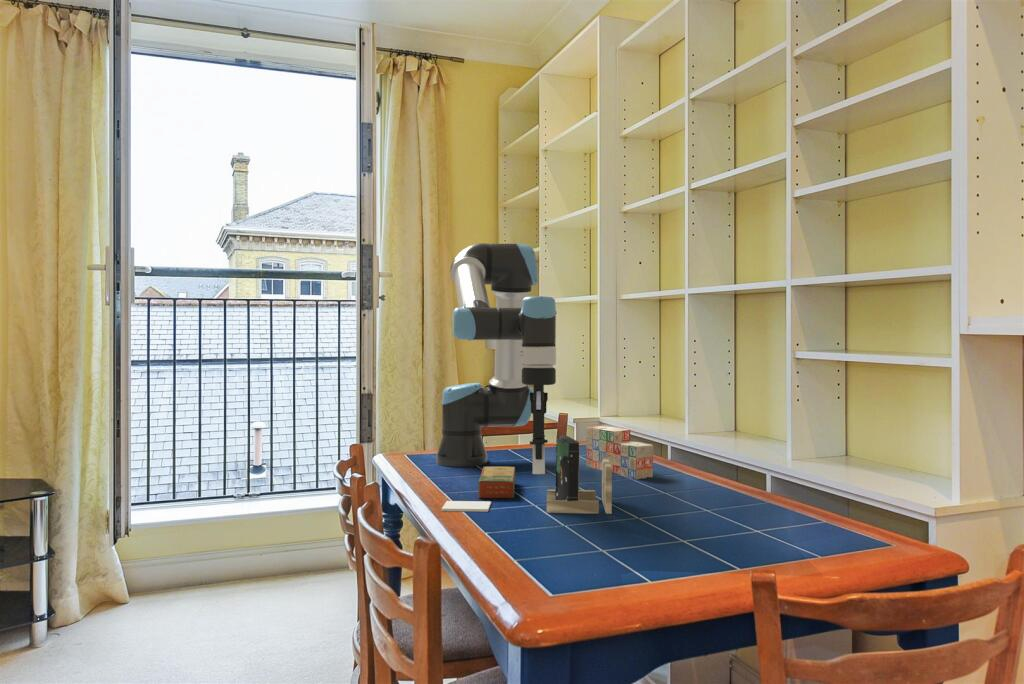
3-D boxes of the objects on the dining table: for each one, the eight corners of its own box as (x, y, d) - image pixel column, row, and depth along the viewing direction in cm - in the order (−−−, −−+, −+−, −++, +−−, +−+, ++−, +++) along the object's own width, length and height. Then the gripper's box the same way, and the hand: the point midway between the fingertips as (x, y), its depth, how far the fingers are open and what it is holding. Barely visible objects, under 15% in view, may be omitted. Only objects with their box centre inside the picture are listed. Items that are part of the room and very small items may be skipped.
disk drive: (580, 510, 145) (580, 441, 145) (567, 511, 144) (567, 441, 144) (566, 500, 155) (567, 434, 155) (555, 500, 154) (555, 435, 154)
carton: (515, 482, 172) (515, 465, 172) (514, 498, 156) (514, 480, 156) (482, 482, 172) (482, 465, 172) (478, 498, 156) (478, 480, 156)
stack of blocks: (653, 479, 180) (653, 433, 180) (635, 482, 177) (635, 434, 177) (602, 467, 198) (602, 424, 198) (585, 469, 195) (585, 426, 195)
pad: (446, 503, 153) (446, 500, 153) (490, 504, 152) (490, 501, 152) (441, 511, 146) (441, 508, 146) (488, 512, 145) (488, 509, 145)
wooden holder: (547, 500, 155) (547, 456, 155) (607, 501, 155) (607, 457, 155) (546, 513, 144) (546, 465, 144) (611, 513, 143) (611, 466, 143)
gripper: (522, 365, 157) (522, 467, 157) (520, 367, 144) (520, 479, 144) (555, 365, 156) (555, 468, 156) (556, 367, 143) (556, 479, 143)
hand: (538, 473), depth 150 cm, fingers closed
